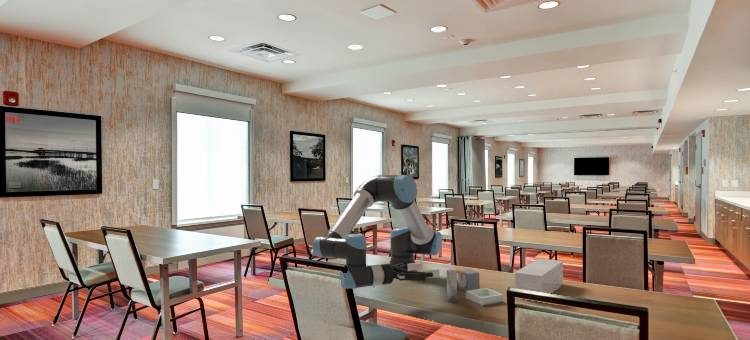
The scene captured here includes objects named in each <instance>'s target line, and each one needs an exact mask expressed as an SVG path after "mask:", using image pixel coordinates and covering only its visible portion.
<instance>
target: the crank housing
mask: <svg viewBox="0 0 750 340" xmlns="http://www.w3.org/2000/svg"><path fill="white" fill-rule="evenodd" d="M456 271H457V285H458V289H459V290H461V291H463V292H465V293H466V291H470V290H477V289H481V288H480V272H479V271H476V270H474V269H470V268H469V269H461V270H460V269H456Z"/></svg>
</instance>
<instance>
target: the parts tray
mask: <svg viewBox="0 0 750 340" xmlns="http://www.w3.org/2000/svg"><path fill="white" fill-rule="evenodd" d="M465 299H466V300H468V301H470V302H473V303H475V304H477V305H478V306H480V307H481V306H488V305H494V304H500V302H501V303H504V294H502V293H500V292H497V291H495V290H493V289H490V288H488V287H484V288H480V289H477V290H470V291H466V292H465Z"/></svg>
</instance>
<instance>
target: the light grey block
mask: <svg viewBox="0 0 750 340" xmlns="http://www.w3.org/2000/svg"><path fill="white" fill-rule="evenodd" d="M563 263H564V261H563V260H555V259H547V258H537V259H535V260H533V261H532V262H530V263H529V264H526V265H525V266H523V267H521V268H520V269H518V270H517V271H515V272H514V279H515V280H514V284H515V288H519V289H525V290H531V291H537V292H546V293H552V294H554V293H555V292H556V291H557V290H558V289H559V288H561V287H562V286H563V285H564V272H563V271H564V264H563ZM555 290H556V291H555ZM554 291H555V292H554ZM553 292H554V293H553Z"/></svg>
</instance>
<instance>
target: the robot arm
mask: <svg viewBox="0 0 750 340" xmlns="http://www.w3.org/2000/svg"><path fill="white" fill-rule="evenodd" d="M417 187H418V186H417V182H416V180H415V179H414V178H413V177H412V176H411V175H404V174H391V175H390V174H384V175H382V174H378V175H375V176H372V177H370V178H368V179H366V180H365V181H364V182H363V183H361V184H360V185H359V186H358V188H356V190H355V191H354V192H353V198H352V199H351V201H350V202H349V203H348V204H347V206H346V207H345V208H344V210H343V211H342V212H341V213H340V214H339V216H338V217H337V219H336V220H335V221H334V223H333V224H332V226H331V227H330V228H329V229H328V231H327V232H326V234H325V235H324V236H317V237H315V238H314V240H313V242H312V244H311V249H312V252H313V254H314V255H315V256H316V257H320V258H321V257H322V258H324V259H325V258H330V259H338V260H339V259H340V260H345V267H346V266H347V268H348V271H347V273H343V272H342V271H340V270H339V281H340V280H341V284H340V286H341V287H342V288H343V289H346V290H347V289H359V288H360V289H361V288H365V287H372V288H375V287H376V286H381V285H383V286H384V285H391V284H392V283H393V281H394V279H395V280H398V281H401V282H402V281H423V282H426V280H427V279H433V278H440V269H439V268H437V269H429V270H428V269H427V270H423V262H416V261H415V257H414V254H415V255H426V256H437V255H439V253H440V251H441V247H442V244H443V243H442V242H443V237H442V236H443V235H442V233H441V232H440V231H435V230H434V228H433V227H432V226H431V225H430V224H427V221H426V220H425V218H424V216H423V213H422V212H421V210H420V207H419V206H418V204H417V202H416V199H417V196H418V188H417ZM377 202H378V203H379V202H381V203H382V202H384V203H385V202H387V203H390V205H391V207H392V208H393V209H395V210H397V211H398V212H399V214H400V215H401V217H402V219H403V221H404V223H405V224H406V226H402V227H398V228H394V229H391V231H390V237H389V238H390V260H389V262H388V263H383V264H373V265H372V264H371V265H370V264H369V265H367V239H366V238H367V237H366V235H365V234H362V233H351V232H352V231H353V229H355V227H356V225H357V224H358V222H360V220H361V218H362V216H363V215H364V214H365V212H366V211H367V209H369V208H371V207H372V206H373V205H374V204H375V203H377ZM421 270H422V271H421Z"/></svg>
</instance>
